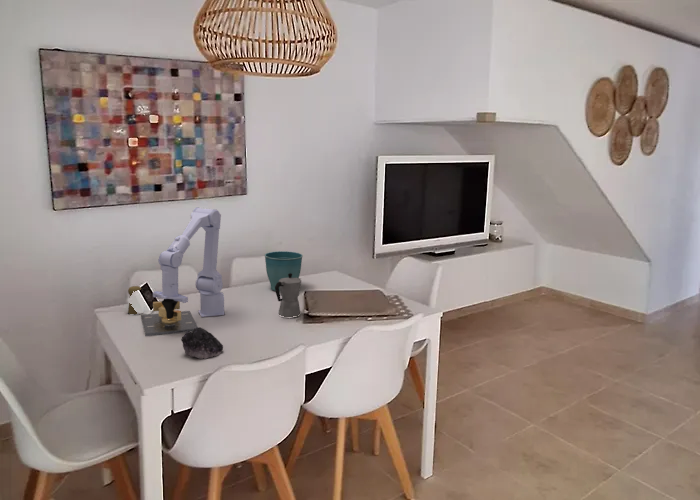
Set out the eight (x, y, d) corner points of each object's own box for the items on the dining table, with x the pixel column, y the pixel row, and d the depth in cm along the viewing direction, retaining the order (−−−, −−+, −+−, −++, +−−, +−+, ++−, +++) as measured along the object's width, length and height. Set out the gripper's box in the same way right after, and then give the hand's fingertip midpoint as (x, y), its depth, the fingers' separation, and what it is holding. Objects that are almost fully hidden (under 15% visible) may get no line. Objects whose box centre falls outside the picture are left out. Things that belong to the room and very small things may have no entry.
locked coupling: (152, 312, 228) (152, 299, 227) (178, 309, 232) (178, 297, 231) (154, 316, 223) (153, 304, 222) (180, 314, 227) (180, 302, 226)
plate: (189, 313, 235) (189, 308, 235) (198, 330, 216) (198, 326, 215) (140, 317, 228) (140, 313, 227) (145, 336, 208) (145, 331, 208)
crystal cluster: (225, 346, 203) (223, 319, 202) (221, 358, 190) (219, 329, 189) (186, 350, 202) (184, 322, 200) (180, 362, 188) (177, 333, 187)
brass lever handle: (166, 317, 223) (166, 304, 222) (185, 322, 218) (185, 309, 217) (154, 321, 218) (154, 308, 216) (173, 326, 213) (173, 313, 212)
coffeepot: (291, 309, 246) (292, 268, 242) (308, 313, 241) (309, 272, 237) (266, 317, 233) (266, 275, 230) (283, 322, 228) (284, 279, 224)
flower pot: (265, 283, 284) (265, 250, 280) (301, 284, 286) (302, 251, 282) (263, 294, 266) (263, 258, 263) (302, 294, 268) (303, 259, 265)
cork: (138, 315, 230) (137, 289, 228) (124, 314, 231) (123, 288, 229) (146, 311, 236) (145, 285, 234) (133, 309, 237) (132, 284, 235)
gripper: (147, 282, 210) (147, 317, 213) (179, 288, 205) (179, 324, 207) (160, 278, 216) (160, 312, 219) (191, 284, 211) (191, 319, 214)
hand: (170, 318), depth 214 cm, fingers closed, pressing on brass lever handle
